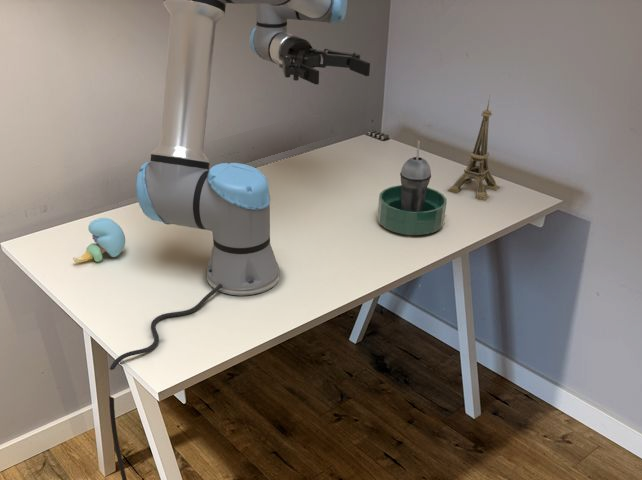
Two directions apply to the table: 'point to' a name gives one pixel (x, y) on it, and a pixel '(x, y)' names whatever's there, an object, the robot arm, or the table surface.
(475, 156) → the eiffel tower
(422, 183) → the beverage cup
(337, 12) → the robot arm
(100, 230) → the brain model
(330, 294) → the table surface
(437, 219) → the green pet bowl
